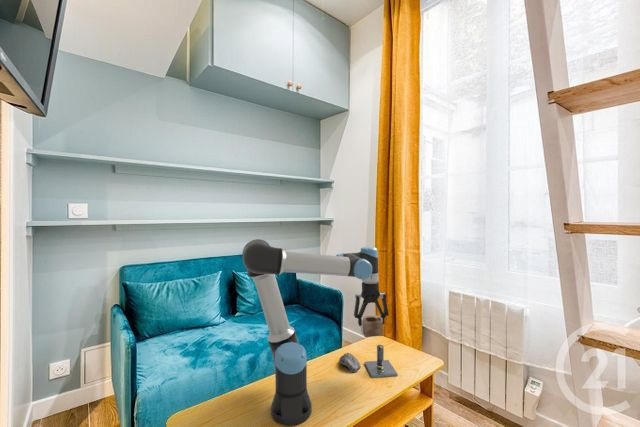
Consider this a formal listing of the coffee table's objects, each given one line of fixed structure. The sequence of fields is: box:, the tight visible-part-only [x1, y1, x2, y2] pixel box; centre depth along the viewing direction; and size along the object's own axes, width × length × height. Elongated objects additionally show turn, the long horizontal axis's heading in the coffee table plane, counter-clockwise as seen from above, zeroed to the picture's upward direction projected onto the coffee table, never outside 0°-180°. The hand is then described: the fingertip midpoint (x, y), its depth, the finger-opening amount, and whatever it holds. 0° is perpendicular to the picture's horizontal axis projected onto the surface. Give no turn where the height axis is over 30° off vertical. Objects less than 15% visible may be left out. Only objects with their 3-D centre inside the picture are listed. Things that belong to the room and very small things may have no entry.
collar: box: [362, 315, 384, 338], centre depth 133 cm, size 8×8×6 cm
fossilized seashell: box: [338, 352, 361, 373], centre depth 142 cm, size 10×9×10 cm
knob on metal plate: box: [364, 344, 398, 379], centre depth 138 cm, size 12×12×11 cm
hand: (371, 331), depth 133 cm, fingers closed on collar, 8 cm apart
